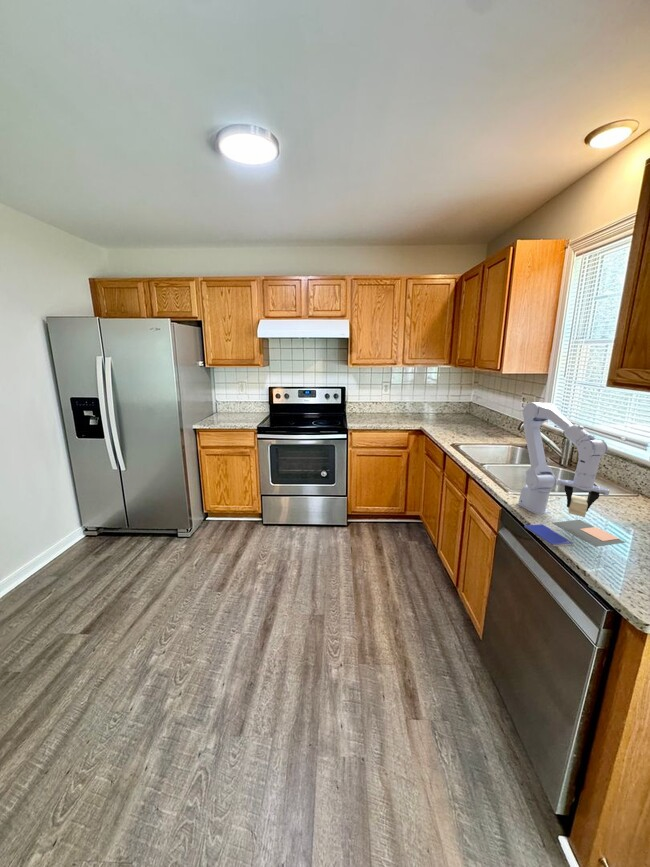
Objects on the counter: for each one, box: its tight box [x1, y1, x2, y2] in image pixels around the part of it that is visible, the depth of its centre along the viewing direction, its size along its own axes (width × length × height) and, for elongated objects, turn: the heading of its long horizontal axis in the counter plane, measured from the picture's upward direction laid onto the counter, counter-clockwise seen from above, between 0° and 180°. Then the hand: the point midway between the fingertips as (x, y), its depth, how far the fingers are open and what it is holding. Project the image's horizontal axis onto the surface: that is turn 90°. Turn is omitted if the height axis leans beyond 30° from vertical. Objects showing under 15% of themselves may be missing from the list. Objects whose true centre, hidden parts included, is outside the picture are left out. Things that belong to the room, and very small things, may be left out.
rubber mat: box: [552, 519, 626, 547], centre depth 118 cm, size 16×14×1 cm
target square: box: [580, 526, 620, 541], centre depth 117 cm, size 8×8×1 cm
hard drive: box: [524, 524, 575, 547], centre depth 115 cm, size 2×8×12 cm
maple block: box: [567, 494, 588, 518], centre depth 118 cm, size 8×4×4 cm, turn 146°
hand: (576, 508), depth 118 cm, fingers closed on maple block, 4 cm apart
